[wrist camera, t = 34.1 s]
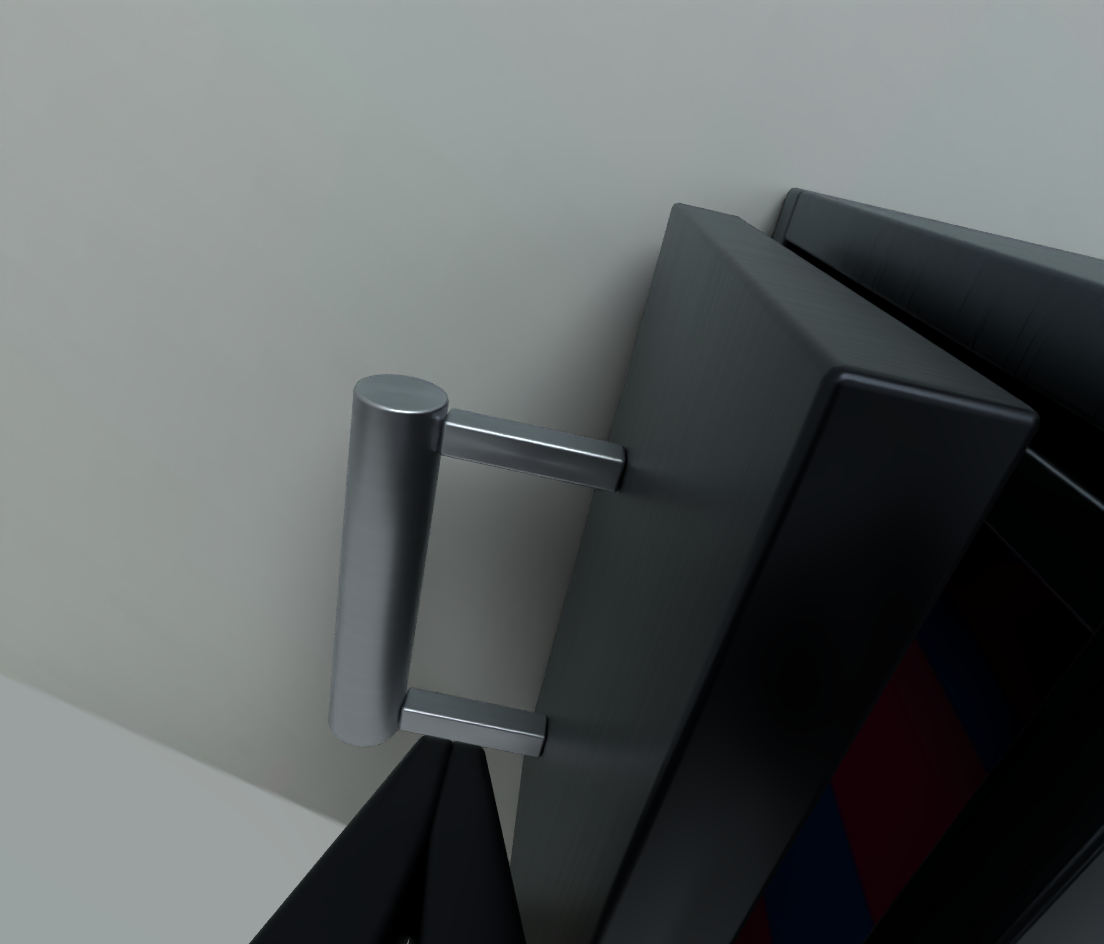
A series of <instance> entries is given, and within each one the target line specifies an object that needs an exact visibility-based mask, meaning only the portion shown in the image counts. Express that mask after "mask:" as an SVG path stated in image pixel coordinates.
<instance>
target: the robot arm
mask: <svg viewBox="0 0 1104 944" xmlns="http://www.w3.org/2000/svg"><path fill="white" fill-rule="evenodd" d="M408 940H409V943H408ZM407 943H408V944H526V940H525V935H524V930H523V926H522V921H521V917H520V912H519V907H518V903H517V898H516V894H515V889H514V884H513V880H512V875H511V871H510V866H509V861H508V857H507V852H506V847H505V843H504V838H503V834H502V829H501V824H500V820H499V815H498V811H497V806H496V801H495V797H494V792H493V788H492V783H491V778H490V774H489V769H488V764H487V760H486V755H485V752H484V750H483V748H482V747H481V746H479V745H474V744H470V743H465V742H460V741H456V742H452V741H451V740H449V739H445V738H440V737H435V736H430V735H425V736H423V737H421V738H420V739H419V740H418V741H417V742H416V744H415V745H414V746H413V747H412V748H411V750H410V751H409V752H408V753H407V754H406V756H405V757H404V758H403V759H402V760H401V762H400V763H399V764H398V765H397V766H396V768H395V769H394V770H393V771H392V772H391V774H390V775H389V776H388V777H387V778H386V780H385V781H384V782H383V783H382V784H381V786H380V787H379V788H378V789H377V790H376V792H375V793H374V794H373V795H372V796H371V798H370V799H369V800H368V801H367V803H366V804H365V805H364V806H363V807H362V809H361V810H360V811H359V812H358V813H357V815H356V816H355V817H354V818H353V819H352V821H351V822H350V823H349V824H348V825H347V827H346V828H345V829H344V830H343V831H342V833H341V834H340V835H339V836H338V838H337V839H336V840H335V841H334V842H333V843H332V845H331V846H330V847H329V848H328V849H327V851H326V852H325V853H324V854H323V855H322V857H321V858H320V859H319V860H318V861H317V863H316V864H315V865H314V866H313V868H312V869H311V870H310V871H309V872H308V874H307V875H306V876H305V877H304V878H303V880H302V881H301V882H300V883H299V884H298V886H297V887H296V888H295V889H294V890H293V892H292V893H291V894H290V895H289V897H288V898H287V899H286V900H285V901H284V902H283V904H282V905H281V906H280V907H279V909H278V910H277V911H276V912H275V913H274V915H273V916H272V917H271V918H270V919H269V920H268V922H267V923H266V924H265V925H264V926H263V928H262V929H261V930H260V931H259V932H258V934H257V935H256V936H255V937H254V938H253V940H252V941H251V942H250V943H249V944H407Z"/></svg>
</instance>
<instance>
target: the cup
mask: <svg viewBox="0 0 1104 944" xmlns="http://www.w3.org/2000/svg"><path fill="white" fill-rule="evenodd" d="M1053 597H1054V595H1053V594H1052V593H1051V592H1050V591H1049V590H1048V589H1047V588H1046V587H1045V585H1044V584H1043V583H1042V582H1041V581H1040V580H1039V579H1038V578H1037V577H1036V576H1035V575H1034V574H1033V573H1032V572H1031V571H1030V570H1029V569H1028V568H1027V567H1026V566H1025V565H1024V564H1023V563H1022V562H1021V561H1020V560H1019V559H1018V558H1017V557H1016V556H1015V554H1014V553H1013V552H1012V551H1009V552H1007V553H1005V554H1004V555H1002V556H1000V557H998V558H996V559H994V560H993V561H991V562H989V563H988V564H987V565H985V566H984V567H982V568H981V569H978V568H976V567H974V566H972V565H971V564H969V563H967V562H965V561H963V560H962V559H961V561H960V563H959V564H958V566H957V568H956V569H955V571H954V573H953V574H952V576H951V578H950V579H949V581H948V583H947V584H946V586H945V588H944V590H943V591H942V593H941V595H940V596H939V598H938V600H937V601H936V603H935V605H934V606H933V608H932V610H931V611H930V613H929V615H928V617H927V618H926V620H925V622H924V623H923V625H922V627H921V628H920V630H919V632H918V633H917V635H916V637H915V639H914V640H913V642H912V644H911V645H910V647H909V649H908V650H907V652H906V654H905V655H904V657H903V659H902V660H901V662H900V664H899V666H898V667H897V669H896V671H895V672H894V674H893V676H892V677H891V679H890V681H889V682H888V684H887V686H886V687H885V689H884V691H883V693H882V694H881V696H880V698H879V699H878V701H877V703H876V704H875V706H874V708H873V709H872V711H871V713H870V714H869V716H868V718H867V720H866V721H865V723H864V725H863V726H862V728H861V730H860V731H859V733H858V735H857V736H856V738H855V740H854V742H853V743H852V745H851V747H850V748H849V750H848V752H847V753H846V755H845V757H844V758H843V760H842V762H841V763H840V765H839V767H838V769H837V770H836V772H835V774H834V775H833V777H832V779H831V780H830V782H829V784H828V785H827V787H826V789H825V790H824V792H823V794H822V796H821V797H820V799H819V801H818V802H817V804H816V806H815V807H814V809H813V811H812V812H811V814H810V816H809V817H808V819H807V821H806V823H805V824H804V826H803V828H802V829H801V831H800V833H799V834H798V836H797V838H796V839H795V841H794V843H793V845H792V846H791V848H790V850H789V851H788V853H787V855H786V856H785V858H784V860H783V861H782V863H781V865H780V866H779V868H778V870H777V872H776V873H775V875H774V877H773V878H772V880H771V882H770V883H769V885H768V887H767V888H766V890H765V892H764V893H763V895H762V897H761V899H760V900H759V902H758V904H757V905H756V907H755V909H754V910H753V912H752V914H751V915H750V917H749V919H748V921H747V922H746V924H745V926H744V927H743V929H742V931H741V932H740V934H739V936H738V937H737V939H736V941H735V942H734V944H861V943H862V942H863V941H864V939H865V938H866V937H867V935H868V934H869V933H870V931H871V930H872V929H873V927H874V926H875V925H876V923H877V922H878V921H879V919H880V918H881V917H882V915H883V914H884V913H885V911H886V910H887V909H888V907H889V906H890V905H891V903H892V902H893V901H894V899H895V898H896V897H897V895H898V894H899V893H900V891H901V890H902V889H903V887H904V886H905V885H906V883H907V882H908V881H909V879H910V878H911V877H912V875H913V874H914V873H915V871H916V870H917V869H918V867H919V866H920V864H921V863H922V862H923V860H924V859H925V858H926V856H927V855H928V854H929V852H930V851H931V850H932V848H933V847H934V846H935V844H936V843H937V842H938V840H939V839H940V838H941V836H942V835H943V834H944V832H945V831H946V830H947V828H948V827H949V826H950V824H951V823H952V822H953V820H954V819H955V818H956V816H957V815H958V814H959V812H960V811H961V810H962V808H963V807H964V806H965V804H966V803H967V802H968V800H969V799H970V798H971V796H972V795H973V794H974V792H975V791H976V790H977V788H978V787H979V786H980V784H981V783H982V782H983V780H984V779H985V778H986V776H987V775H988V774H989V772H990V771H991V770H992V768H993V767H994V766H995V764H996V763H997V762H998V760H999V759H1000V758H1001V756H1002V755H1003V754H1004V752H1005V751H1006V749H1007V748H1008V747H1009V745H1010V744H1011V743H1012V741H1013V740H1014V739H1015V737H1016V736H1017V735H1018V733H1019V732H1020V731H1021V729H1022V728H1023V727H1024V725H1025V724H1026V723H1027V721H1028V720H1029V719H1030V717H1031V716H1032V715H1033V713H1034V712H1035V711H1036V709H1037V708H1038V707H1039V705H1040V704H1041V703H1042V701H1043V700H1044V699H1045V697H1046V696H1047V695H1048V693H1049V692H1050V691H1051V689H1052V688H1053V687H1054V685H1055V684H1056V683H1057V681H1058V680H1059V679H1060V677H1061V676H1062V675H1063V673H1064V672H1065V671H1066V670H1065V669H1064V667H1063V666H1062V665H1061V663H1060V662H1059V661H1058V659H1057V658H1056V657H1055V655H1054V654H1053V653H1052V651H1051V650H1050V649H1049V647H1048V646H1047V645H1046V643H1045V642H1044V641H1043V639H1042V638H1041V637H1040V635H1039V634H1038V633H1037V631H1036V630H1035V629H1034V627H1033V626H1032V625H1031V623H1030V622H1029V620H1030V619H1031V618H1032V617H1033V616H1034V615H1035V614H1036V612H1037V611H1038V610H1039V609H1040V608H1041V607H1042V606H1043V605H1044V604H1045V603H1046V602H1047V601H1049V600H1050V599H1052V598H1053Z"/></svg>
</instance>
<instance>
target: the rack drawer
mask: <svg viewBox="0 0 1104 944" xmlns="http://www.w3.org/2000/svg"><path fill="white" fill-rule="evenodd" d="M448 404H449V400H448V396H447V394H446V392H445V391H444V390H443V389H441V388H440V387H438V386H437V385H435V384H433V383H430V382H428V381H425V380H422V379H419V378H415V377H410V376H404V375H393V374H385V375H374V376H369V377H366V378H363V379H361V380H360V381H359V382H357V384H356V385H355V387H354V391H353V404H352V417H351V431H350V444H349V457H348V470H347V483H346V496H345V509H344V522H343V535H342V548H341V561H340V574H339V587H338V600H337V613H336V627H335V640H334V653H333V666H332V679H331V692H330V705H329V720H328V721H329V726H330V728H331V730H332V732H333V733H334V735H335V736H336V737H337V738H338V739H339V740H341V741H342V742H344V743H346V744H348V745H351V746H356V747H371V746H375V745H379V744H381V743H383V742H385V741H387V740H388V739H390V738H391V737H392V736H393V735H394V734H395V733H396V732H397V731H398V729H399V728H400V730H403V731H408V732H413V733H418V734H423V735H430V736H435V737H440V738H445V739H449V740H453V741H460V742H465V743H470V744H474V745H479V746H483V747H488V748H493V749H498V750H503V751H508V752H513V753H518V754H523V755H524V758H523V766H522V774H521V782H520V790H519V798H518V806H517V814H516V822H515V830H514V838H513V847H512V855H511V863H510V871H511V875H512V880H513V884H514V889H515V894H516V898H517V903H518V907H519V912H520V917H521V921H522V926H523V930H524V935H525V940H526V944H734V942H735V941H736V939H737V937H738V936H739V934H740V932H741V931H742V929H743V927H744V926H745V924H746V922H747V921H748V919H749V917H750V915H751V914H752V912H753V910H754V909H755V907H756V905H757V904H758V902H759V900H760V899H761V897H762V895H763V893H764V892H765V890H766V888H767V887H768V885H769V883H770V882H771V880H772V878H773V877H774V875H775V873H776V872H777V870H778V868H779V866H780V865H781V863H782V861H783V860H784V858H785V856H786V855H787V853H788V851H789V850H790V848H791V846H792V845H793V843H794V841H795V839H796V838H797V836H798V834H799V833H800V831H801V829H802V828H803V826H804V824H805V823H806V821H807V819H808V817H809V816H810V814H811V812H812V811H813V809H814V807H815V806H816V804H817V802H818V801H819V799H820V797H821V796H822V794H823V792H824V790H825V789H826V787H827V785H828V784H829V782H830V780H831V779H832V777H833V775H834V774H835V772H836V770H837V769H838V767H839V765H840V763H841V762H842V760H843V758H844V757H845V755H846V753H847V752H848V750H849V748H850V747H851V745H852V743H853V742H854V740H855V738H856V736H857V735H858V733H859V731H860V730H861V728H862V726H863V725H864V723H865V721H866V720H867V718H868V716H869V714H870V713H871V711H872V709H873V708H874V706H875V704H876V703H877V701H878V699H879V698H880V696H881V694H882V693H883V691H884V689H885V687H886V686H887V684H888V682H889V681H890V679H891V677H892V676H893V674H894V672H895V671H896V669H897V667H898V666H899V664H900V662H901V660H902V659H903V657H904V655H905V654H906V652H907V650H908V649H909V647H910V645H911V644H912V642H913V640H914V639H915V637H916V635H917V633H918V632H919V630H920V628H921V627H922V625H923V623H924V622H925V620H926V618H927V617H928V615H929V613H930V611H931V610H932V608H933V606H934V605H935V603H936V601H937V600H938V598H939V596H940V595H941V593H942V591H943V590H944V588H945V586H946V584H947V583H948V581H949V579H950V578H951V576H952V574H953V573H954V571H955V569H956V568H957V566H958V564H959V563H960V561H961V559H962V560H963V561H965V562H967V563H969V564H971V565H972V566H974V567H976V568H978V569H981V568H982V567H984V566H985V565H987V564H988V563H989V562H991V561H993V560H994V559H996V558H998V557H1000V556H1002V555H1004V554H1005V553H1007V552H1009V551H1012V552H1013V553H1014V554H1015V556H1016V557H1017V558H1018V559H1019V560H1020V561H1021V562H1022V563H1023V564H1024V565H1025V566H1026V567H1027V568H1028V569H1029V570H1030V571H1031V572H1032V573H1033V574H1034V575H1035V576H1036V577H1037V578H1038V579H1039V580H1040V581H1041V582H1042V583H1043V584H1044V585H1045V587H1046V588H1047V589H1048V590H1049V591H1050V592H1051V593H1052V594H1053V595H1054V597H1053V598H1052V599H1050V600H1049V601H1047V602H1046V603H1045V604H1044V605H1043V606H1042V607H1041V608H1040V609H1039V610H1038V611H1037V612H1036V614H1035V615H1034V616H1033V617H1032V618H1031V619H1030V620H1029V622H1030V623H1031V625H1032V626H1033V627H1034V629H1035V630H1036V631H1037V633H1038V634H1039V635H1040V637H1041V638H1042V639H1043V641H1044V642H1045V643H1046V645H1047V646H1048V647H1049V649H1050V650H1051V651H1052V653H1053V654H1054V655H1055V657H1056V658H1057V659H1058V661H1059V662H1060V663H1061V665H1062V666H1063V667H1064V669H1065V670H1066V669H1067V668H1068V667H1069V665H1070V664H1071V663H1072V661H1073V660H1074V659H1075V657H1076V656H1077V655H1078V653H1079V652H1080V651H1081V649H1082V648H1083V647H1084V645H1085V644H1086V643H1087V641H1088V640H1089V639H1090V637H1091V636H1092V634H1093V633H1094V632H1095V630H1096V629H1097V628H1098V626H1099V625H1100V624H1101V622H1102V621H1103V620H1104V432H1103V431H1101V430H1100V429H1098V428H1096V427H1095V426H1093V425H1091V424H1090V423H1088V422H1086V421H1085V420H1083V419H1081V418H1080V417H1078V416H1076V415H1075V414H1073V413H1071V412H1070V411H1068V410H1067V409H1065V408H1063V407H1062V406H1060V405H1058V404H1057V403H1055V402H1053V401H1052V400H1050V399H1048V398H1047V397H1045V396H1043V395H1042V394H1040V393H1038V392H1037V391H1035V390H1034V389H1032V388H1030V387H1029V386H1027V385H1025V384H1024V383H1022V382H1020V381H1019V380H1017V379H1015V378H1014V377H1012V376H1010V375H1009V374H1007V373H1005V372H1004V371H1002V370H1001V369H999V368H997V367H996V366H994V365H992V364H991V363H989V362H987V361H986V360H984V359H982V358H981V357H979V356H977V355H976V354H974V353H972V352H971V351H969V350H968V349H966V348H964V347H963V346H961V345H959V344H958V343H956V342H954V341H953V340H951V339H949V338H948V337H946V336H944V335H943V334H941V333H939V332H938V331H936V330H935V329H933V328H931V327H930V326H928V325H926V324H925V323H923V322H921V321H920V320H918V319H916V318H915V317H913V316H911V315H910V314H908V313H906V312H905V311H903V310H901V309H900V308H898V307H897V306H895V305H893V304H892V303H890V302H888V301H887V300H885V299H883V298H882V297H878V296H874V295H869V294H865V293H861V292H856V291H852V290H850V289H849V288H847V287H846V286H844V285H843V284H841V283H840V282H838V281H836V280H835V279H833V278H832V277H830V276H829V275H827V274H826V273H824V272H823V271H821V270H820V269H818V268H816V267H815V266H813V265H812V264H810V263H809V262H807V261H806V260H804V259H803V258H801V257H800V256H798V255H796V254H795V253H793V252H792V251H790V250H789V249H787V248H786V247H784V246H783V245H781V244H780V243H778V242H776V241H775V240H773V239H772V238H770V237H769V236H767V235H766V234H764V233H763V232H761V231H760V230H758V229H756V228H755V227H753V226H752V225H750V224H749V223H747V222H746V221H744V220H743V219H741V218H740V217H738V216H733V215H729V214H725V213H721V212H716V211H712V210H708V209H703V208H699V207H695V206H690V205H686V204H682V203H676V204H674V205H673V207H672V209H671V213H670V217H669V220H668V224H667V228H666V231H665V235H664V239H663V242H662V246H661V250H660V253H659V257H658V261H657V264H656V268H655V272H654V275H653V279H652V283H651V286H650V290H649V294H648V297H647V301H646V305H645V308H644V312H643V316H642V320H641V323H640V327H639V331H638V334H637V338H636V342H635V345H634V349H633V353H632V356H631V360H630V364H629V367H628V371H627V375H626V378H625V382H624V386H623V389H622V393H621V397H620V400H619V404H618V408H617V411H616V415H615V419H614V422H613V426H612V430H611V433H610V437H609V441H608V442H606V441H601V440H597V439H592V438H588V437H583V436H578V435H574V434H569V433H565V432H560V431H555V430H551V429H546V428H542V427H537V426H533V425H528V424H523V423H519V422H514V421H510V420H505V419H500V418H496V417H491V416H487V415H482V414H478V413H473V412H468V411H464V410H459V409H451V410H450V411H449V413H448V415H447V411H448ZM441 455H443V456H448V457H452V458H457V459H462V460H466V461H471V462H475V463H480V464H485V465H489V466H494V467H499V468H503V469H508V470H513V471H517V472H522V473H526V474H531V475H536V476H540V477H545V478H550V479H554V480H559V481H564V482H568V483H573V484H577V485H582V486H587V487H591V488H595V492H594V496H593V500H592V503H591V507H590V511H589V514H588V518H587V522H586V525H585V529H584V533H583V536H582V540H581V544H580V547H579V551H578V555H577V558H576V562H575V566H574V569H573V573H572V577H571V580H570V584H569V588H568V591H567V595H566V599H565V602H564V606H563V610H562V613H561V617H560V621H559V624H558V628H557V632H556V635H555V639H554V643H553V646H552V650H551V654H550V657H549V661H548V665H547V668H546V672H545V676H544V680H543V683H542V687H541V691H540V694H539V698H538V702H537V705H536V709H535V712H530V711H525V710H520V709H515V708H510V707H505V706H500V705H495V704H490V703H486V702H481V701H476V700H471V699H466V698H461V697H456V696H451V695H446V694H441V693H436V692H431V691H426V690H421V689H417V688H409V690H408V691H407V694H406V690H407V683H408V676H409V669H410V663H411V656H412V649H413V642H414V635H415V629H416V622H417V615H418V608H419V601H420V595H421V588H422V581H423V574H424V567H425V561H426V554H427V547H428V540H429V533H430V527H431V520H432V513H433V506H434V499H435V493H436V486H437V479H438V472H439V466H440V459H441Z"/></svg>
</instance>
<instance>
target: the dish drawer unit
mask: <svg viewBox="0 0 1104 944" xmlns="http://www.w3.org/2000/svg"><path fill="white" fill-rule="evenodd" d="M772 239H773V240H775V241H776V242H778V243H780V244H781V245H783V246H784V247H786V248H787V249H789V250H790V251H792V252H793V253H795V254H796V255H798V256H800V257H801V258H803V259H804V260H806V261H807V262H809V263H810V264H812V265H813V266H815V267H816V268H818V269H820V270H821V271H823V272H824V273H826V274H827V275H829V276H830V277H832V278H833V279H835V280H836V281H838V282H840V283H841V284H843V285H844V286H846V287H847V288H849V289H850V290H852V291H856V292H861V293H865V294H869V295H874V296H878V297H882V298H883V299H885V300H887V301H888V302H890V303H892V304H893V305H895V306H897V307H898V308H900V309H901V310H903V311H905V312H906V313H908V314H910V315H911V316H913V317H915V318H916V319H918V320H920V321H921V322H923V323H925V324H926V325H928V326H930V327H931V328H933V329H935V330H936V331H938V332H939V333H941V334H943V335H944V336H946V337H948V338H949V339H951V340H953V341H954V342H956V343H958V344H959V345H961V346H963V347H964V348H966V349H968V350H969V351H971V352H972V353H974V354H976V355H977V356H979V357H981V358H982V359H984V360H986V361H987V362H989V363H991V364H992V365H994V366H996V367H997V368H999V369H1001V370H1002V371H1004V372H1005V373H1007V374H1009V375H1010V376H1012V377H1014V378H1015V379H1017V380H1019V381H1020V382H1022V383H1024V384H1025V385H1027V386H1029V387H1030V388H1032V389H1034V390H1035V391H1037V392H1038V393H1040V394H1042V395H1043V396H1045V397H1047V398H1048V399H1050V400H1052V401H1053V402H1055V403H1057V404H1058V405H1060V406H1062V407H1063V408H1065V409H1067V410H1068V411H1070V412H1071V413H1073V414H1075V415H1076V416H1078V417H1080V418H1081V419H1083V420H1085V421H1086V422H1088V423H1090V424H1091V425H1093V426H1095V427H1096V428H1098V429H1100V430H1101V431H1103V432H1104V260H1102V259H1098V258H1094V257H1089V256H1085V255H1081V254H1076V253H1072V252H1068V251H1064V250H1059V249H1055V248H1051V247H1047V246H1042V245H1038V244H1034V243H1029V242H1025V241H1021V240H1017V239H1012V238H1008V237H1004V236H1000V235H995V234H991V233H987V232H983V231H978V230H974V229H970V228H965V227H961V226H957V225H953V224H948V223H944V222H940V221H936V220H931V219H927V218H923V217H919V216H914V215H910V214H906V213H901V212H897V211H893V210H889V209H884V208H880V207H876V206H872V205H867V204H863V203H859V202H854V201H850V200H846V199H842V198H837V197H833V196H829V195H825V194H820V193H816V192H812V191H808V190H803V189H799V188H792V189H790V191H789V192H788V194H787V197H786V200H785V203H784V206H783V209H782V212H781V215H780V218H779V220H778V223H777V226H776V229H775V232H774V235H773V238H772ZM861 944H1104V620H1103V621H1102V622H1101V624H1100V625H1099V626H1098V628H1097V629H1096V630H1095V632H1094V633H1093V634H1092V636H1091V637H1090V639H1089V640H1088V641H1087V643H1086V644H1085V645H1084V647H1083V648H1082V649H1081V651H1080V652H1079V653H1078V655H1077V656H1076V657H1075V659H1074V660H1073V661H1072V663H1071V664H1070V665H1069V667H1068V668H1067V669H1066V671H1065V672H1064V673H1063V675H1062V676H1061V677H1060V679H1059V680H1058V681H1057V683H1056V684H1055V685H1054V687H1053V688H1052V689H1051V691H1050V692H1049V693H1048V695H1047V696H1046V697H1045V699H1044V700H1043V701H1042V703H1041V704H1040V705H1039V707H1038V708H1037V709H1036V711H1035V712H1034V713H1033V715H1032V716H1031V717H1030V719H1029V720H1028V721H1027V723H1026V724H1025V725H1024V727H1023V728H1022V729H1021V731H1020V732H1019V733H1018V735H1017V736H1016V737H1015V739H1014V740H1013V741H1012V743H1011V744H1010V745H1009V747H1008V748H1007V749H1006V751H1005V752H1004V754H1003V755H1002V756H1001V758H1000V759H999V760H998V762H997V763H996V764H995V766H994V767H993V768H992V770H991V771H990V772H989V774H988V775H987V776H986V778H985V779H984V780H983V782H982V783H981V784H980V786H979V787H978V788H977V790H976V791H975V792H974V794H973V795H972V796H971V798H970V799H969V800H968V802H967V803H966V804H965V806H964V807H963V808H962V810H961V811H960V812H959V814H958V815H957V816H956V818H955V819H954V820H953V822H952V823H951V824H950V826H949V827H948V828H947V830H946V831H945V832H944V834H943V835H942V836H941V838H940V839H939V840H938V842H937V843H936V844H935V846H934V847H933V848H932V850H931V851H930V852H929V854H928V855H927V856H926V858H925V859H924V860H923V862H922V863H921V864H920V866H919V867H918V869H917V870H916V871H915V873H914V874H913V875H912V877H911V878H910V879H909V881H908V882H907V883H906V885H905V886H904V887H903V889H902V890H901V891H900V893H899V894H898V895H897V897H896V898H895V899H894V901H893V902H892V903H891V905H890V906H889V907H888V909H887V910H886V911H885V913H884V914H883V915H882V917H881V918H880V919H879V921H878V922H877V923H876V925H875V926H874V927H873V929H872V930H871V931H870V933H869V934H868V935H867V937H866V938H865V939H864V941H863V942H862V943H861Z"/></svg>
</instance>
